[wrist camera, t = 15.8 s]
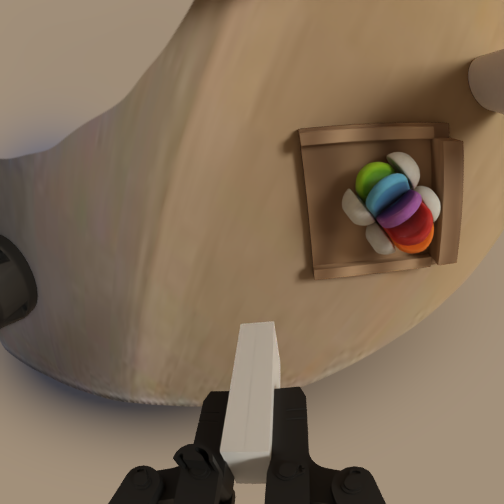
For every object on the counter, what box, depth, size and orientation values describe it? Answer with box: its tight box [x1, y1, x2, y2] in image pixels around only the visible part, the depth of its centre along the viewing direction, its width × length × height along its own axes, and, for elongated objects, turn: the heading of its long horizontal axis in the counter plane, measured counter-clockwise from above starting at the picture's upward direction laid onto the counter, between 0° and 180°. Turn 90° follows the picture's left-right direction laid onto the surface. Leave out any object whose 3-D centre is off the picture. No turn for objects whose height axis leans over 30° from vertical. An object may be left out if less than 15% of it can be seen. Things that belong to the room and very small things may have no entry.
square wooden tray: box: [298, 123, 464, 280], centre depth 29 cm, size 16×16×4 cm
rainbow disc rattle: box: [342, 152, 441, 255], centre depth 27 cm, size 8×10×7 cm
